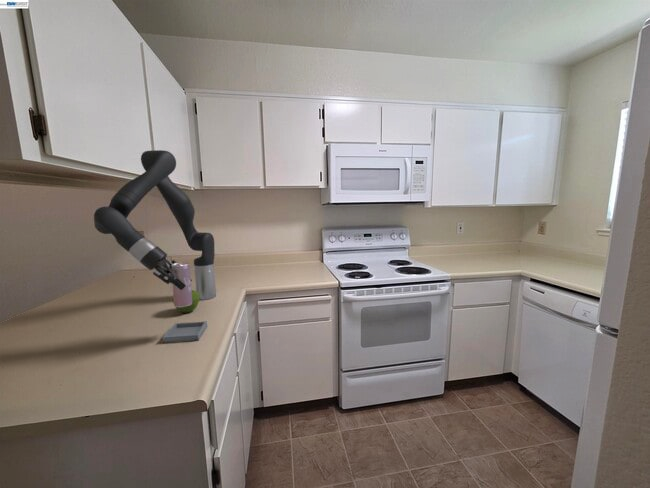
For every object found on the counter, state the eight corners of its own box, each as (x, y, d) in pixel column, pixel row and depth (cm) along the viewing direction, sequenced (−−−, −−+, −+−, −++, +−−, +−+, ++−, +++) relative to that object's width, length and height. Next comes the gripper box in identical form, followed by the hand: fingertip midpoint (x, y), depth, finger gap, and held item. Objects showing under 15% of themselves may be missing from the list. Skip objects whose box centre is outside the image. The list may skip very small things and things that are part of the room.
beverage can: (183, 301, 105) (180, 262, 103) (196, 302, 103) (193, 263, 101) (170, 306, 99) (166, 265, 97) (183, 308, 98) (180, 266, 95)
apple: (173, 318, 117) (171, 295, 116) (174, 309, 127) (172, 288, 125) (201, 313, 122) (199, 291, 121) (200, 305, 131) (198, 285, 130)
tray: (175, 328, 108) (175, 323, 107) (207, 326, 109) (206, 321, 109) (162, 343, 96) (162, 337, 96) (198, 340, 98) (197, 334, 98)
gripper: (145, 249, 90) (187, 283, 93) (164, 242, 104) (200, 272, 107) (129, 266, 90) (172, 299, 93) (150, 257, 104) (186, 286, 107)
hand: (187, 285), depth 100 cm, fingers closed on beverage can, 6 cm apart
